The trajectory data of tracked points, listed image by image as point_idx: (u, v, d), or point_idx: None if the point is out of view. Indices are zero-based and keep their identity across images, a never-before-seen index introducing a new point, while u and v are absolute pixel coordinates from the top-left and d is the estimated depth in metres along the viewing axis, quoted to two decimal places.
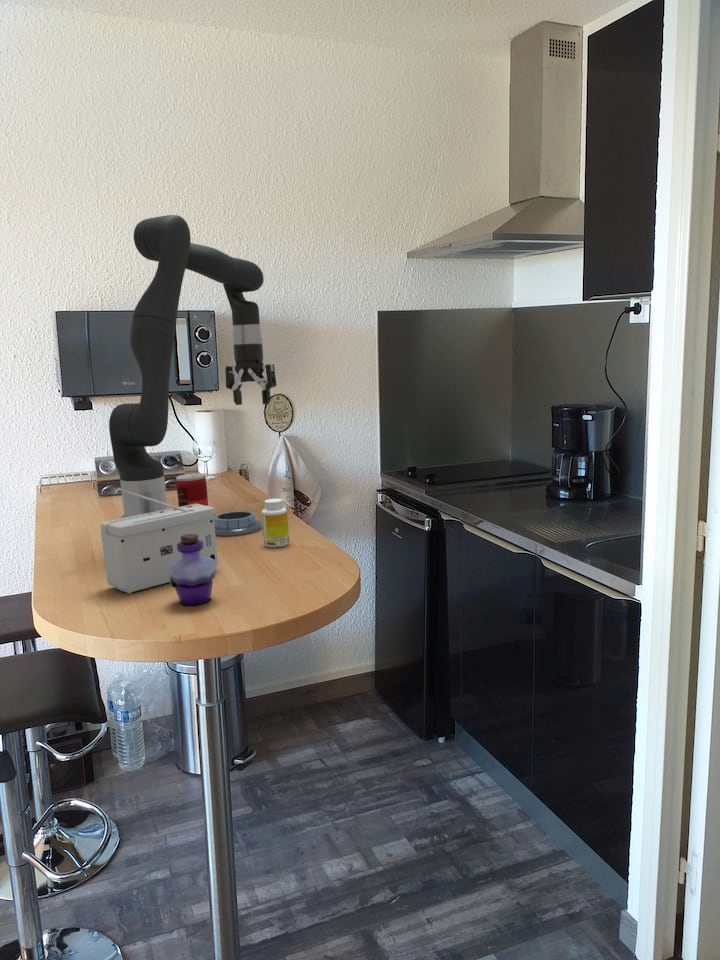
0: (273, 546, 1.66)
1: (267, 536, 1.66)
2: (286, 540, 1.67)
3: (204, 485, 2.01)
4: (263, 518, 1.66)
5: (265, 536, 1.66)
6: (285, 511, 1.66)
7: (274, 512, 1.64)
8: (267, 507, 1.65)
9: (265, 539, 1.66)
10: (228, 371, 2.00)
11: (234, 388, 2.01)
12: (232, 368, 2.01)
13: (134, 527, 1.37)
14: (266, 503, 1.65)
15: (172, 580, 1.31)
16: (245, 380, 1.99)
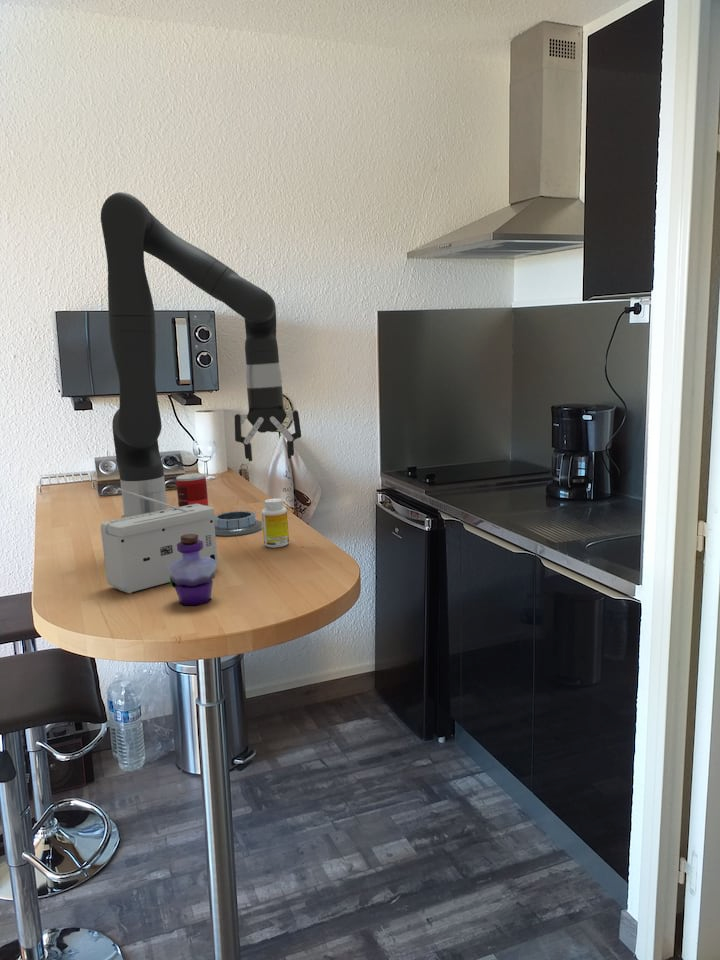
0: (273, 546, 1.66)
1: (267, 536, 1.66)
2: (286, 540, 1.67)
3: (204, 485, 2.01)
4: (263, 518, 1.66)
5: (265, 536, 1.66)
6: (285, 511, 1.66)
7: (274, 512, 1.64)
8: (267, 507, 1.65)
9: (265, 539, 1.66)
10: (239, 420, 1.62)
11: (247, 441, 1.63)
12: (242, 416, 1.63)
13: (134, 527, 1.37)
14: (266, 503, 1.65)
15: (172, 580, 1.31)
16: (263, 431, 1.63)
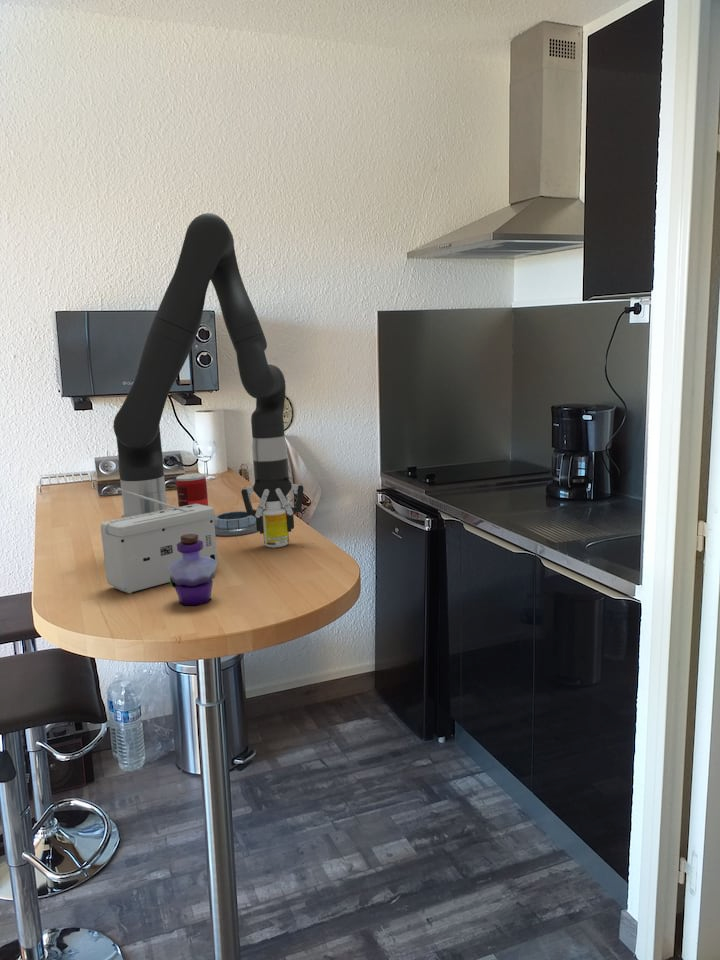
0: (273, 546, 1.66)
1: (267, 536, 1.66)
2: (286, 540, 1.67)
3: (204, 485, 2.01)
4: (263, 518, 1.66)
5: (265, 536, 1.66)
6: (285, 511, 1.66)
7: (274, 512, 1.64)
8: (267, 507, 1.65)
9: (265, 539, 1.66)
10: (246, 495, 1.65)
11: (259, 514, 1.66)
12: (249, 490, 1.65)
13: (134, 527, 1.37)
14: (266, 503, 1.65)
15: (172, 580, 1.31)
16: None
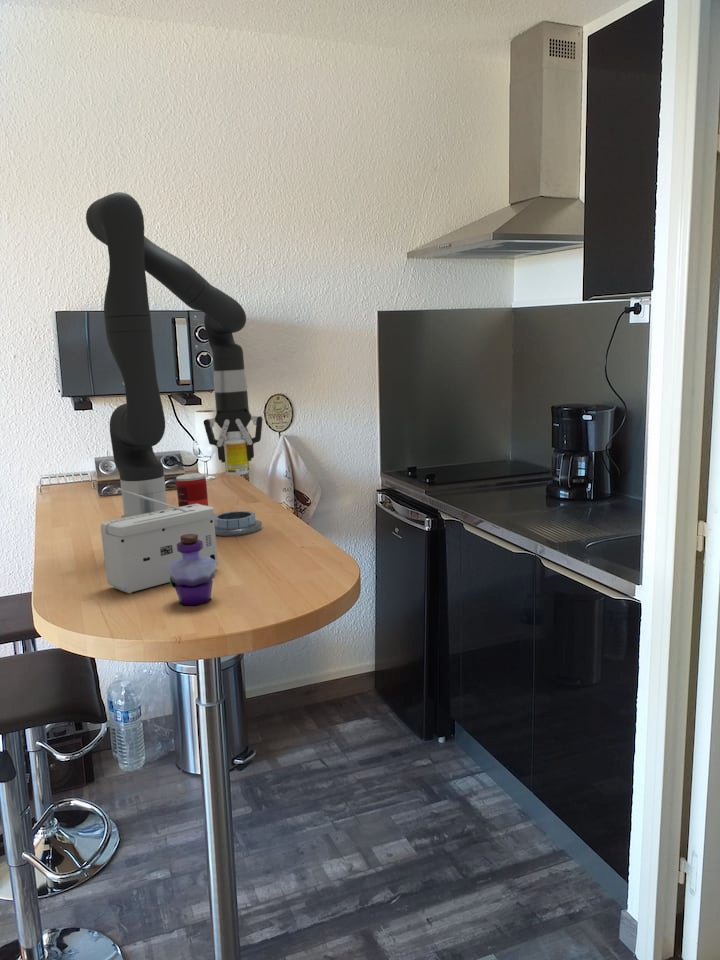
0: (233, 473, 1.77)
1: (228, 464, 1.77)
2: (246, 468, 1.78)
3: (204, 485, 2.01)
4: (224, 447, 1.77)
5: (226, 464, 1.77)
6: (245, 441, 1.77)
7: (234, 441, 1.75)
8: (228, 437, 1.76)
9: (226, 467, 1.77)
10: (208, 425, 1.76)
11: (220, 443, 1.77)
12: (211, 421, 1.76)
13: (134, 527, 1.37)
14: (227, 433, 1.76)
15: (172, 580, 1.31)
16: (232, 431, 1.77)
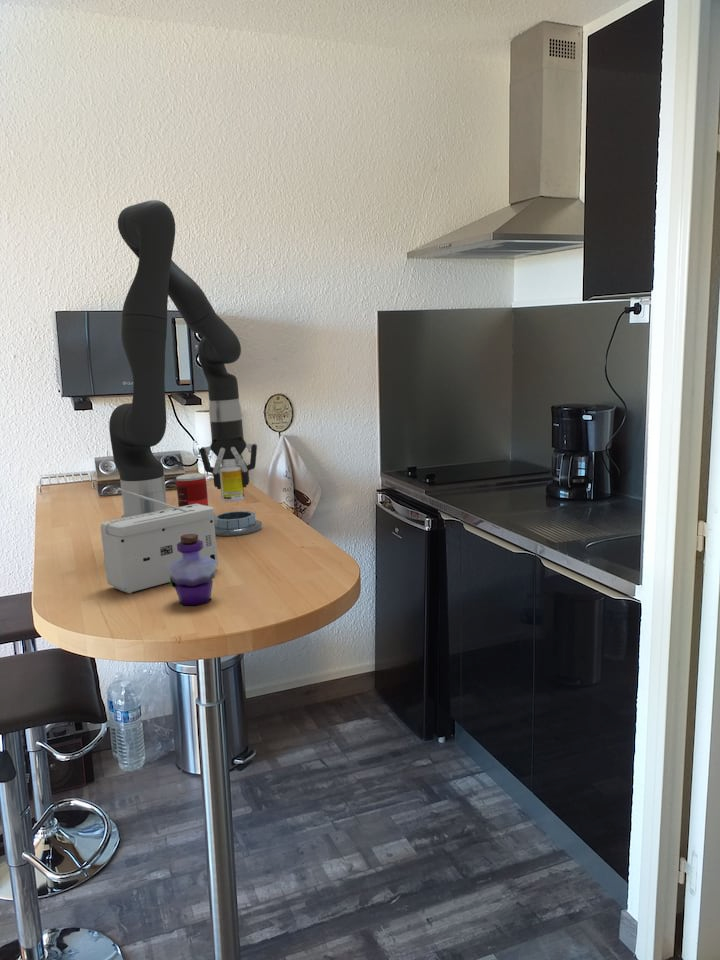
0: (229, 500, 1.81)
1: (224, 491, 1.81)
2: (241, 495, 1.82)
3: (204, 485, 2.01)
4: (220, 474, 1.81)
5: (222, 491, 1.82)
6: (240, 468, 1.81)
7: (229, 469, 1.80)
8: (223, 464, 1.81)
9: (222, 494, 1.82)
10: (204, 453, 1.80)
11: (216, 471, 1.81)
12: (207, 449, 1.81)
13: (134, 527, 1.37)
14: (222, 461, 1.81)
15: (172, 580, 1.31)
16: (227, 458, 1.81)
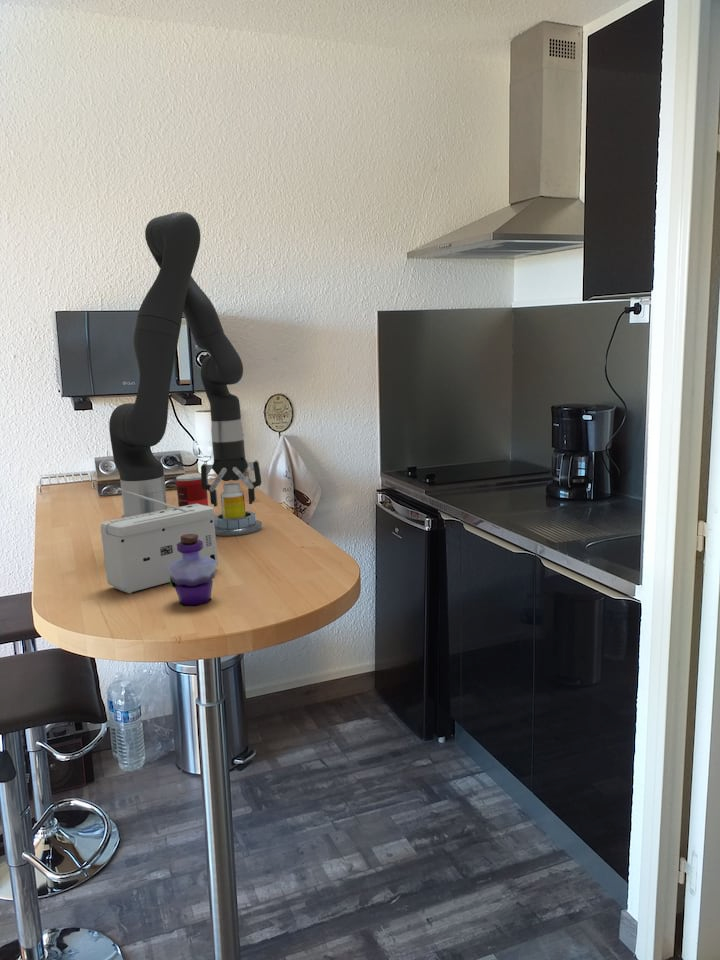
0: None
1: (226, 516, 1.82)
2: None
3: None
4: (222, 500, 1.82)
5: (224, 517, 1.83)
6: (242, 494, 1.82)
7: (231, 495, 1.81)
8: (225, 490, 1.82)
9: None
10: (204, 470, 1.81)
11: (212, 489, 1.82)
12: (208, 467, 1.81)
13: (134, 527, 1.37)
14: (224, 486, 1.82)
15: (172, 580, 1.31)
16: (227, 479, 1.82)
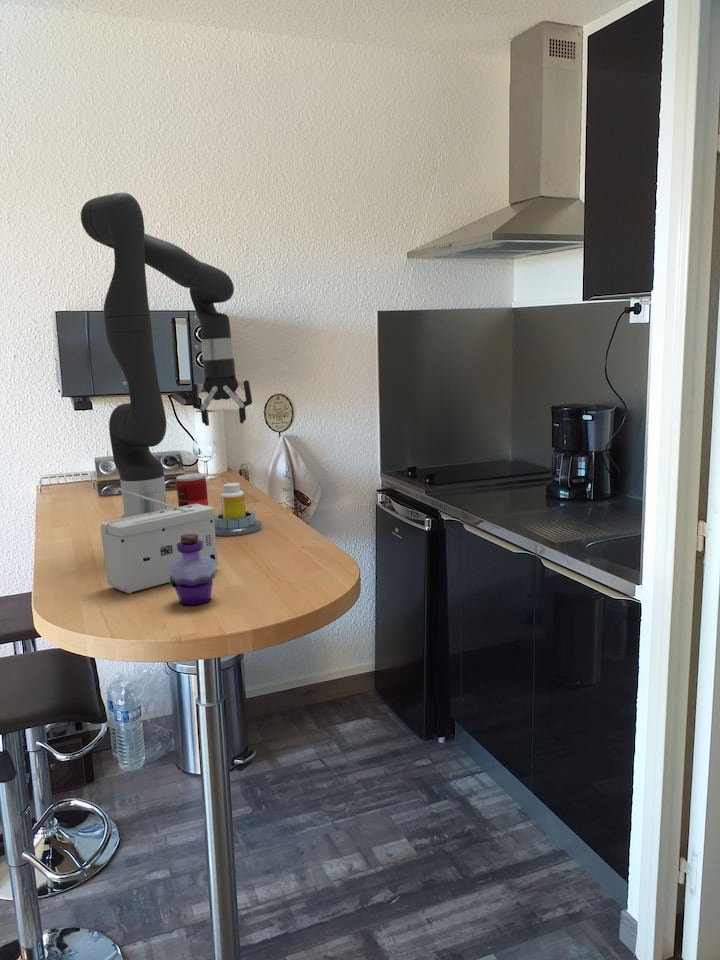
0: None
1: (226, 516, 1.82)
2: None
3: (204, 485, 2.01)
4: (222, 500, 1.82)
5: (224, 517, 1.83)
6: (242, 494, 1.82)
7: (231, 495, 1.81)
8: (225, 490, 1.82)
9: None
10: (195, 389, 1.83)
11: (204, 407, 1.84)
12: (199, 386, 1.83)
13: (134, 527, 1.37)
14: (224, 486, 1.82)
15: (172, 580, 1.31)
16: (217, 398, 1.84)
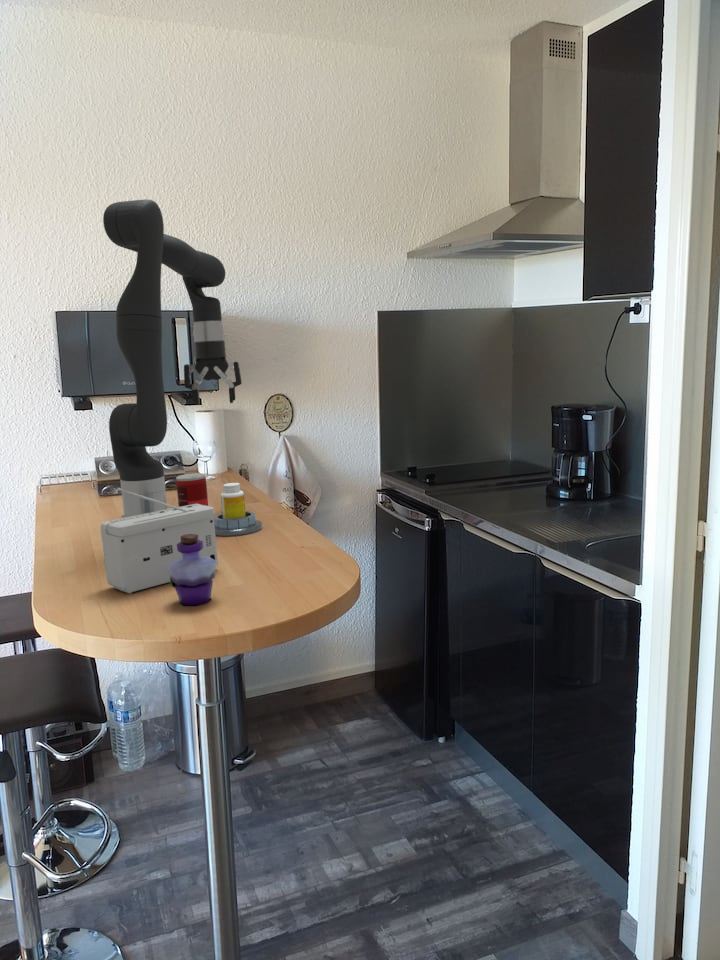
0: None
1: (226, 516, 1.82)
2: None
3: (204, 485, 2.01)
4: (222, 500, 1.82)
5: (224, 517, 1.83)
6: (242, 494, 1.82)
7: (231, 495, 1.81)
8: (225, 490, 1.82)
9: None
10: (187, 370, 1.91)
11: (195, 387, 1.92)
12: (191, 366, 1.92)
13: (134, 527, 1.37)
14: (224, 486, 1.82)
15: (172, 580, 1.31)
16: (208, 378, 1.92)
